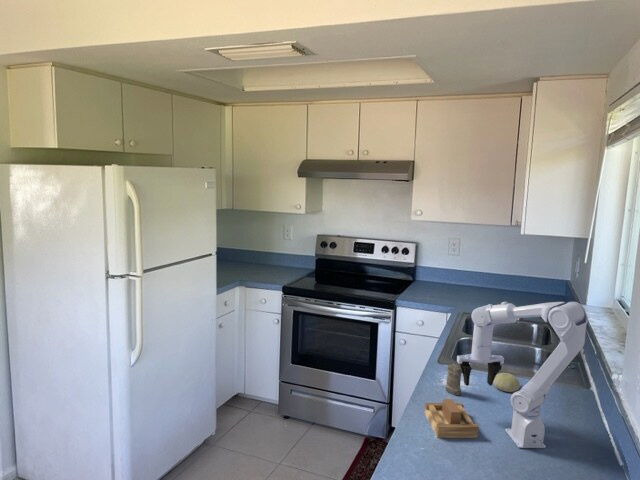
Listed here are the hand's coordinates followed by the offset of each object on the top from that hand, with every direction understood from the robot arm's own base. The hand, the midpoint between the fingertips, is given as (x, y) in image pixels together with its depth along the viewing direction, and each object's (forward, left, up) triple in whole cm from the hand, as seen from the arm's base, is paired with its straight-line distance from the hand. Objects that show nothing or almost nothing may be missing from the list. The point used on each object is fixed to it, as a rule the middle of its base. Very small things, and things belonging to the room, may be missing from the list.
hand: (477, 384), depth 157 cm
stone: (+15, +2, -11) cm, 18 cm away
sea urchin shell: (+19, -19, -11) cm, 29 cm away
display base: (-6, +10, -10) cm, 16 cm away
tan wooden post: (-6, +10, -8) cm, 15 cm away
